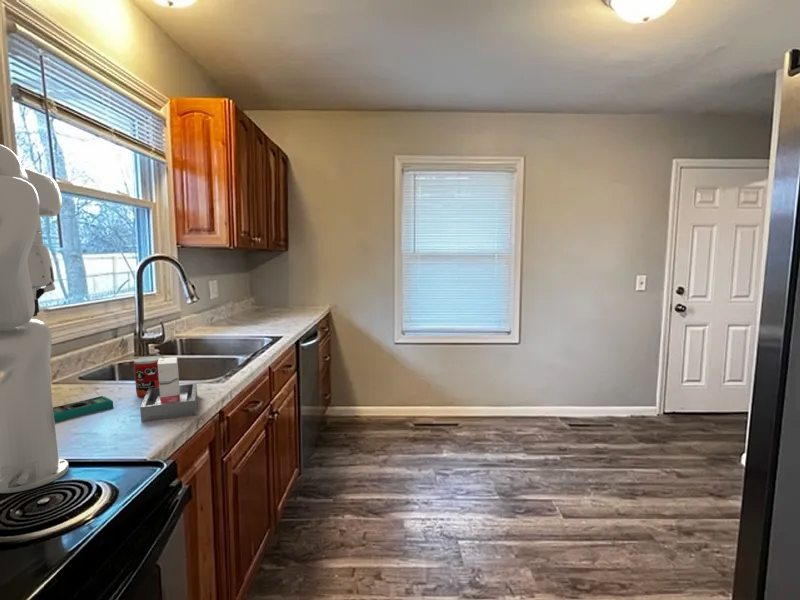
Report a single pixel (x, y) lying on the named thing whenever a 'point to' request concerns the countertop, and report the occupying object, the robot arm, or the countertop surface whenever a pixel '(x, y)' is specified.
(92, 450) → the countertop surface
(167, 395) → the ink box
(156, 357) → the canned food
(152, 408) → the grey rimmed tray
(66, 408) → the digital multimeter
